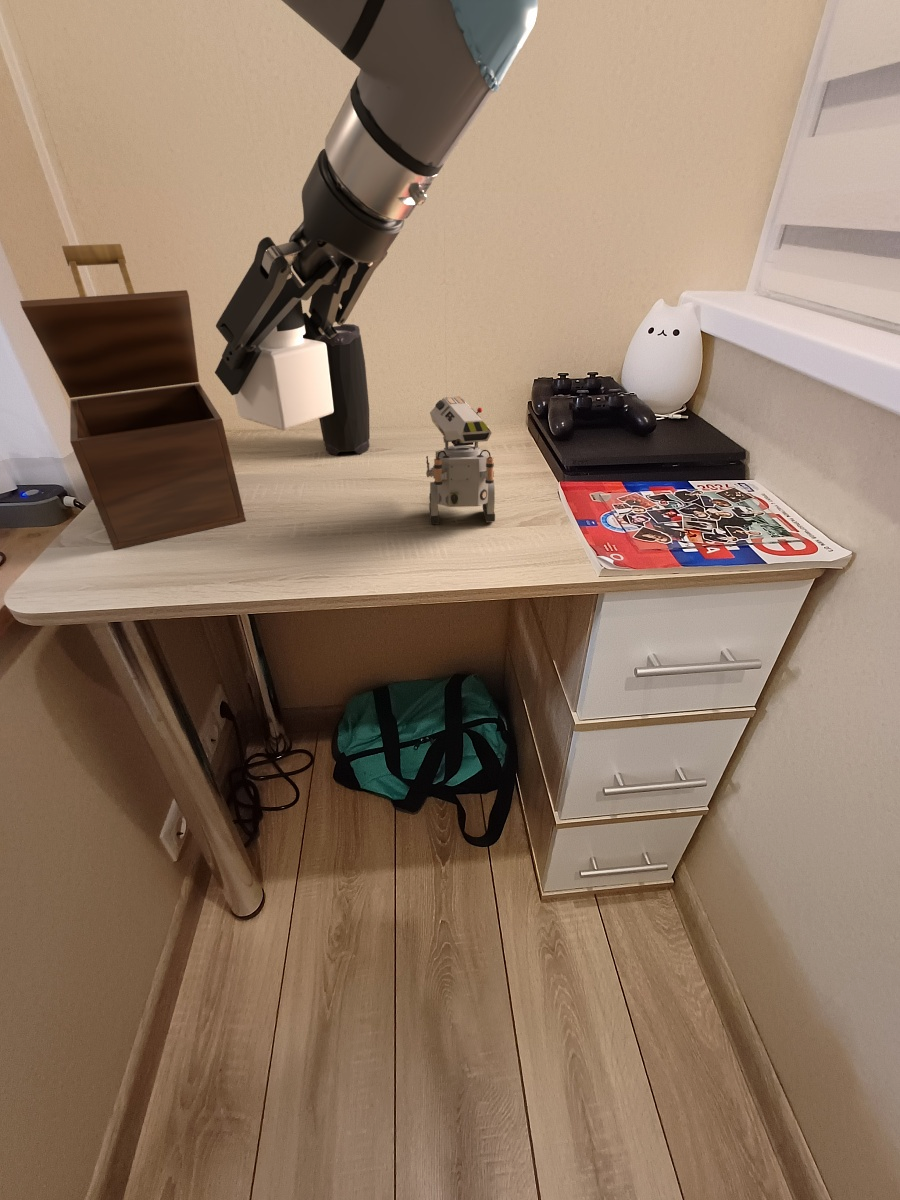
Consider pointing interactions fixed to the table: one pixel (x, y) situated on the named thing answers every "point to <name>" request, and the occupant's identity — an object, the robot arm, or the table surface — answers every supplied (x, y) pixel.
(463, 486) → the figurine
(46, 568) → the table surface
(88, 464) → the chest
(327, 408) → the medicine bottle
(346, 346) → the portable speaker
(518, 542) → the table surface
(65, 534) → the table surface
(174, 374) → the chest lid
